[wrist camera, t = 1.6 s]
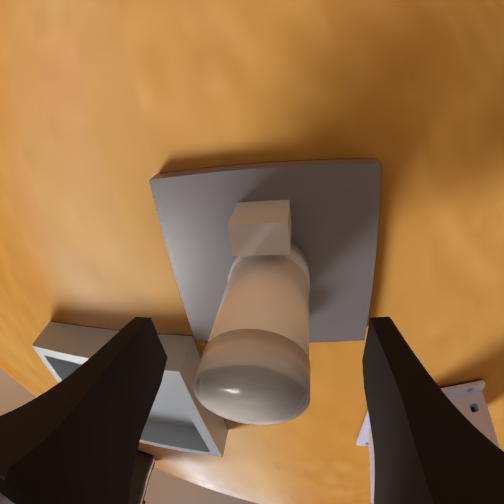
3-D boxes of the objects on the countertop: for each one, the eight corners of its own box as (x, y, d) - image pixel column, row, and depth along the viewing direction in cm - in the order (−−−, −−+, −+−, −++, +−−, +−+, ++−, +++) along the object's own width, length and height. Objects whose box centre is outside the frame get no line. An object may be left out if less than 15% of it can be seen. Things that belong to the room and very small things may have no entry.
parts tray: (192, 336, 18) (179, 371, 15) (228, 430, 24) (222, 457, 21) (50, 321, 20) (31, 345, 17) (110, 410, 26) (101, 431, 23)
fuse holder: (376, 158, 11) (396, 181, 9) (362, 329, 16) (369, 370, 13) (157, 174, 13) (126, 198, 10) (198, 330, 17) (185, 368, 15)
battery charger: (113, 449, 34) (88, 515, 24) (105, 438, 32) (76, 509, 22) (160, 464, 33) (138, 535, 23) (154, 454, 31) (130, 531, 21)
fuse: (308, 235, 12) (311, 363, 7) (310, 299, 14) (308, 426, 9) (227, 238, 13) (178, 359, 8) (238, 300, 15) (207, 420, 9)
